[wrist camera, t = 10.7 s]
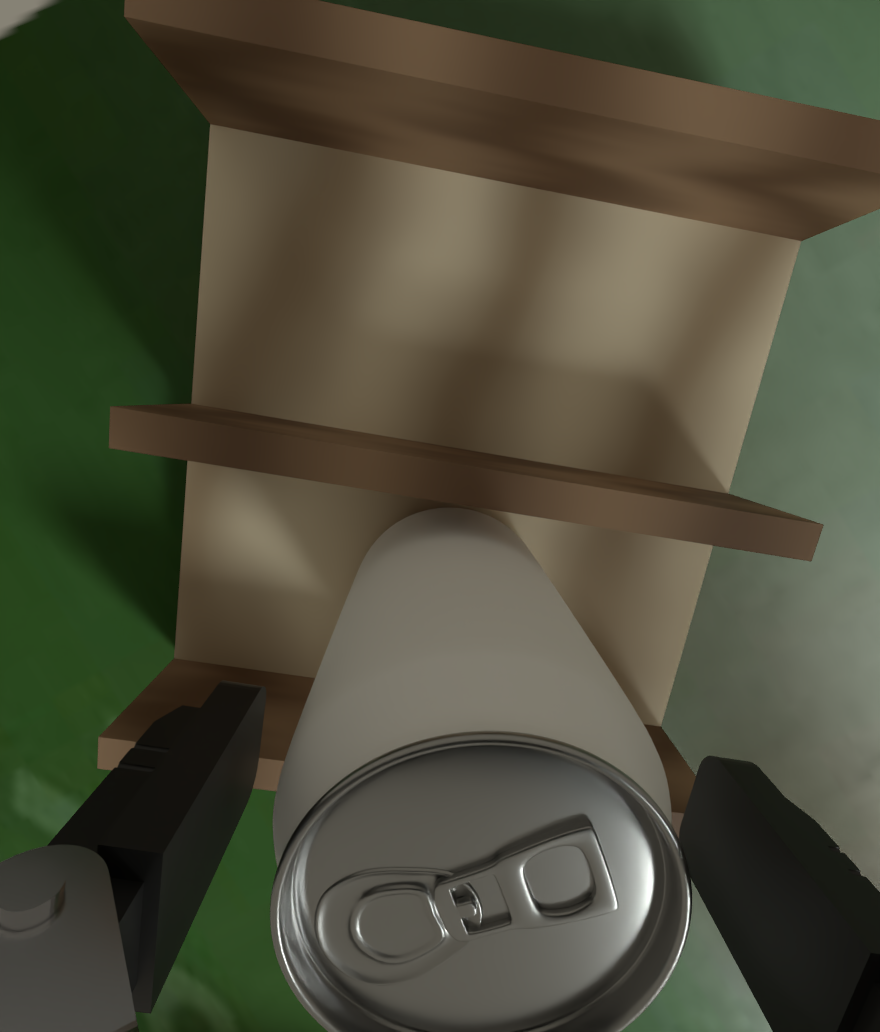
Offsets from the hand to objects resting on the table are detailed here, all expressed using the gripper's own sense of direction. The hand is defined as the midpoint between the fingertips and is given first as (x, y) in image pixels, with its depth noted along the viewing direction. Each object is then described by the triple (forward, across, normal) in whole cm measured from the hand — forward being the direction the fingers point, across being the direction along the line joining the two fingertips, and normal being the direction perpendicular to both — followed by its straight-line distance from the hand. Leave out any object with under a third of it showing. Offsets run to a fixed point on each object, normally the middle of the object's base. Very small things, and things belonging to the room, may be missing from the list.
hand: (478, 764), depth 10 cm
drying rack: (+11, 0, -4) cm, 12 cm away
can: (+10, 0, 0) cm, 10 cm away
